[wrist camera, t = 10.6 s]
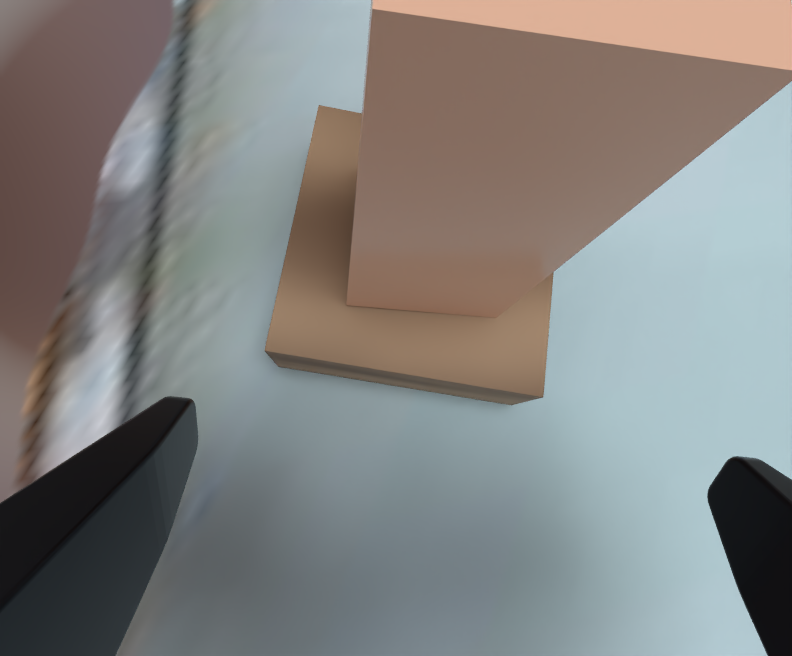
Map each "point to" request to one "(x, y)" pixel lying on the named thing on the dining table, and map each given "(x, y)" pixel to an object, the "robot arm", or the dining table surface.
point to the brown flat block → (388, 328)
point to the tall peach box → (535, 132)
